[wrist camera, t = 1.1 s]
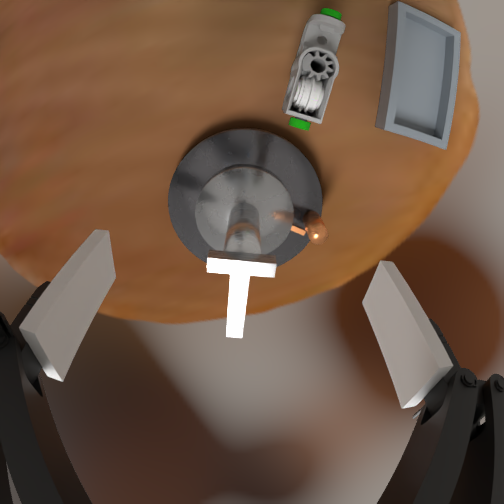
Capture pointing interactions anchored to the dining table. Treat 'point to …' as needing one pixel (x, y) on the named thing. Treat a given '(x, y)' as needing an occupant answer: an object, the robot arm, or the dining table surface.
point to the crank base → (257, 153)
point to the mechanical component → (314, 69)
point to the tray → (419, 76)
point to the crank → (243, 229)
